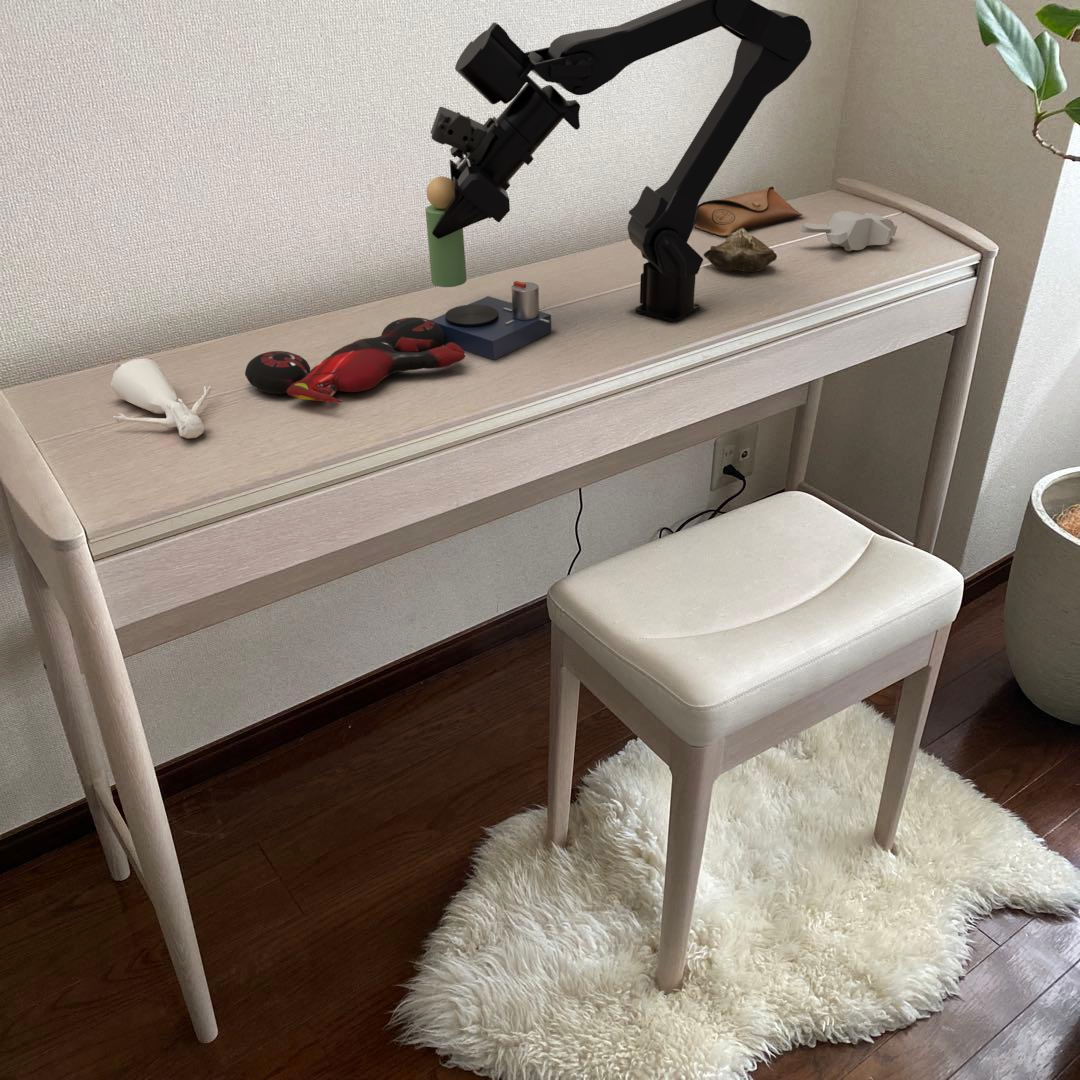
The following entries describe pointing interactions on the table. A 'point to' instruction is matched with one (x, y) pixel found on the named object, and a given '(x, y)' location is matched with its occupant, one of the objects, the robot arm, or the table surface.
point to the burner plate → (471, 316)
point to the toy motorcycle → (355, 362)
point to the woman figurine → (155, 397)
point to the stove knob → (525, 300)
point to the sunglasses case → (743, 212)
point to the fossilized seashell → (740, 253)
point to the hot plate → (496, 331)
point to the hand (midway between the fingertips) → (434, 230)
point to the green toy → (444, 238)
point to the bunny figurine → (855, 230)
